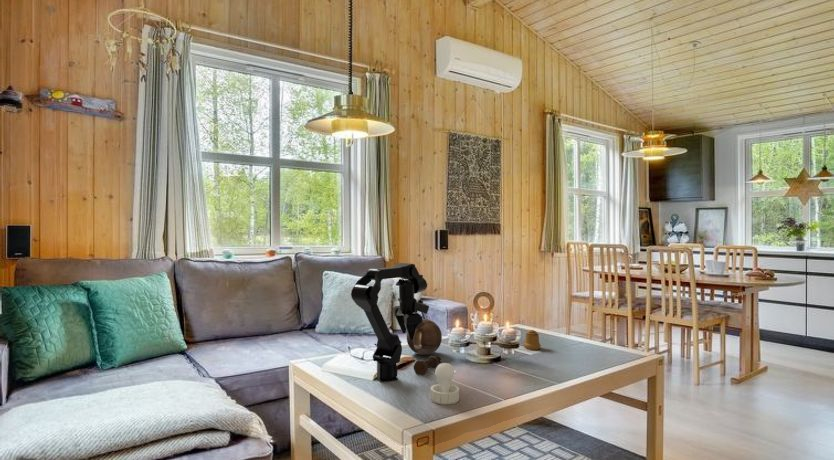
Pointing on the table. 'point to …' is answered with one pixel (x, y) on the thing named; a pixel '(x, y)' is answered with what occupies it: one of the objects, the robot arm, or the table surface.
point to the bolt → (426, 364)
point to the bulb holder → (444, 395)
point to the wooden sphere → (425, 338)
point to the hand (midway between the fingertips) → (407, 336)
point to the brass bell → (532, 340)
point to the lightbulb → (444, 376)
